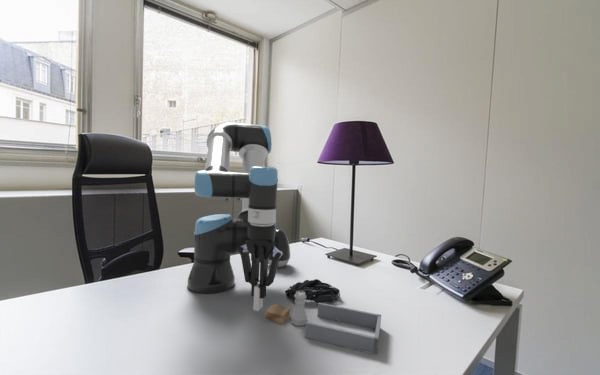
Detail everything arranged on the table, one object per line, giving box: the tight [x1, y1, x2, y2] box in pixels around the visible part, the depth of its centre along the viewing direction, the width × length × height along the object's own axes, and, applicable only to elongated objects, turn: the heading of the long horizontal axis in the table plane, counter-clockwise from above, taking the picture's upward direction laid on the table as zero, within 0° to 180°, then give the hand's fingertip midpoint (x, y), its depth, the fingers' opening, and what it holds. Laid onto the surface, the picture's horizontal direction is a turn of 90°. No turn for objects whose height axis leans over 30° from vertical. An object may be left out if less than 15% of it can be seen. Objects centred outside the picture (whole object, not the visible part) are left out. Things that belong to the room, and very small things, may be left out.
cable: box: [284, 278, 341, 304], centre depth 95 cm, size 17×14×4 cm
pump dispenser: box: [268, 228, 291, 269], centre depth 121 cm, size 10×10×15 cm
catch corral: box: [304, 303, 382, 355], centre depth 73 cm, size 17×12×4 cm
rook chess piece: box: [290, 291, 308, 327], centre depth 77 cm, size 4×4×8 cm
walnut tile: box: [265, 303, 291, 325], centre depth 79 cm, size 5×5×2 cm
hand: (258, 308), depth 81 cm, fingers closed
